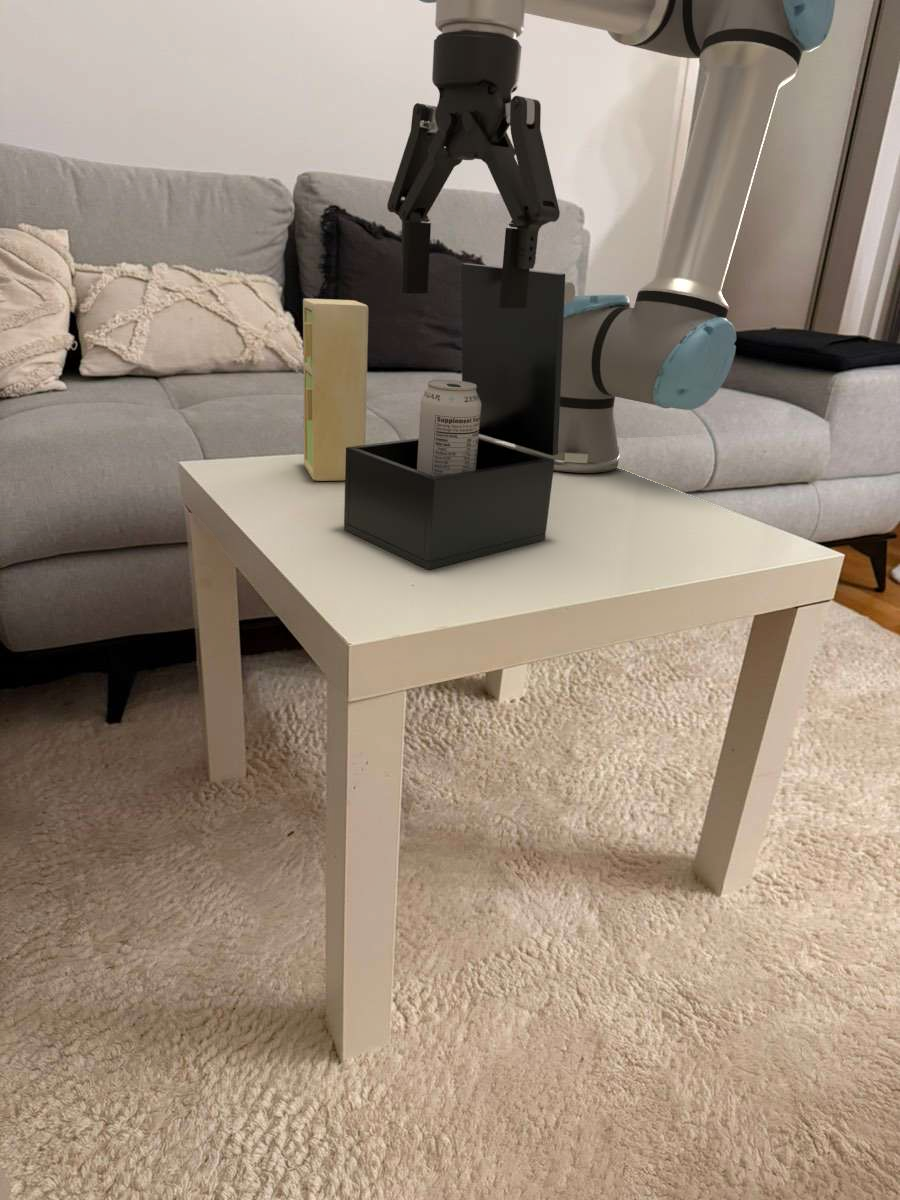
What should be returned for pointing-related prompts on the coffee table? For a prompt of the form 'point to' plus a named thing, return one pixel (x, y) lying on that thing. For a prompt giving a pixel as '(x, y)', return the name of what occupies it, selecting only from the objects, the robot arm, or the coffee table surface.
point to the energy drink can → (448, 428)
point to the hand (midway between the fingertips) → (460, 300)
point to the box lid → (515, 355)
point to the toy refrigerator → (333, 383)
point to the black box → (446, 502)
